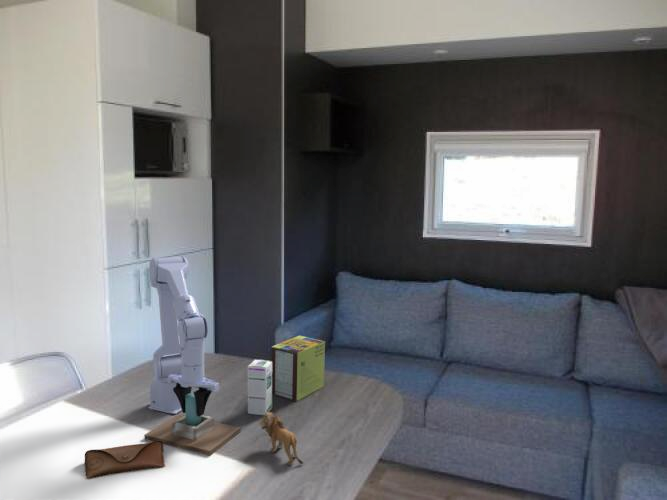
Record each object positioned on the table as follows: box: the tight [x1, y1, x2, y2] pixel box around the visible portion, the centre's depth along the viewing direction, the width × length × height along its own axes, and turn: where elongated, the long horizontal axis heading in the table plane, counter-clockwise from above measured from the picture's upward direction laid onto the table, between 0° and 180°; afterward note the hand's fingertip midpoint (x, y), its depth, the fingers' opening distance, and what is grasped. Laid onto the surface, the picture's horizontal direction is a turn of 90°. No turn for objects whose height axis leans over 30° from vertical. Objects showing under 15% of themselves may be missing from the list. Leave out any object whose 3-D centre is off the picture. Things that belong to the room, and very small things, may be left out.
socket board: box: [143, 413, 242, 456], centre depth 148 cm, size 20×14×4 cm
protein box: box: [270, 335, 326, 402], centre depth 179 cm, size 10×15×16 cm
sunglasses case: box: [84, 441, 166, 480], centre depth 133 cm, size 18×7×7 cm, turn 112°
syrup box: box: [246, 359, 273, 416], centre depth 163 cm, size 6×6×14 cm
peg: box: [184, 392, 201, 427], centre depth 147 cm, size 4×4×8 cm
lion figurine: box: [258, 411, 304, 466], centre depth 139 cm, size 15×5×9 cm, turn 46°
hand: (193, 413), depth 147 cm, fingers closed on peg, 4 cm apart
